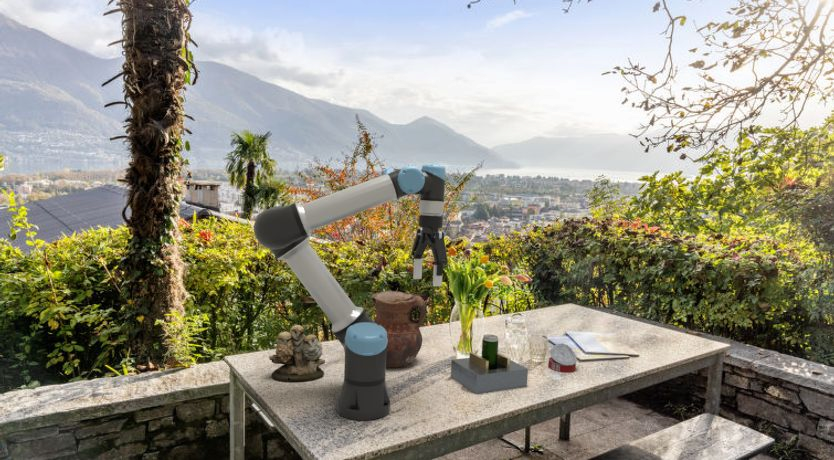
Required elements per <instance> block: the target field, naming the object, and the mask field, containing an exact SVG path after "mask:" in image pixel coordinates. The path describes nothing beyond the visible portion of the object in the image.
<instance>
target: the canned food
mask: <svg viewBox="0 0 834 460" xmlns="http://www.w3.org/2000/svg"><path fill="white" fill-rule="evenodd" d="M549 353H550V356H551V357H549V358H548V365H547V367H548V369H549V370H551V371H554V372H558V373H564V374H565V373H567V374H569V373H573V372H576V365H577V361H578V359H577V355H576V353H575V351H574V350H573V349H572V347H570V346H569V345H568V344H564V343H557V344H555V345H554V346H552V348H551V349H550V352H549Z"/></svg>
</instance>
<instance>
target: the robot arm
mask: <svg viewBox="0 0 834 460" xmlns="http://www.w3.org/2000/svg"><path fill="white" fill-rule="evenodd" d="M446 182H447V181H446V168H445V166H443V165H438V164H422V166H421V169H420V168H419V167H417V166H413V165H407V166H404V167H401V168H394V167H393V168H385V169H383V172H382V175H380V176H378V177H375V178H371V179H369V180H367V181H364V182H361V183H358V184H355V185H353V186H349V187H347V188H344V189H342V190H339V191H336V192H334V193H331V194H328V195H325V196H322V197H319V198H317V199H314V200H312V201H309V202H304V203H303V204H301V203H299V202H295V203H292V204H288V205H285V206H280V205H279V206H272V207H270V208H268V209H265V210H263V211H261V213H259V215H258V216H257V217H256V219H255V220H254V223H253V233H254V236H255V239H256V240H257V241H258V242H259V244H260V245H261V246H263V247H264V248H267V249H269V250H270V252H271V253H272V255H273V256H274V257H275V259H276V260H279V261H284V262H285V263H286V264H287V265H288V267H289V268H290V270H291V271H292V272H293V273H294V274H295V275H294V276H296V278H297V279H298V280H299V282H301V284H302V285H303V287H304V288H305V289H306V291H307V292H308V293H309V295H310V296H311V297H312V298H313V300H314V301H315V303H317V306H318V307H319V308H320V309H321V311H322V312H323V313H324V314H325V315H326V317H327V319H328V320H329V321H330V322H331V324H332V325H331V332H332V334H333V335H334V337H336V339H337V340H338V342H339V343H340V344H341V346H342V347H343V350H344V369H343V370H344V372H343V373H344V374H343V375H344V376H343V383H342V386H341V389H340V391H339V395H338V396H337V400H336V412H337V414H339V415H340V416H341V417H344V418H347V419H350V420H356V421H371V419H373V420H378V419H381V418H383V417H385V416H387V415H388V414H389V413H390V412H391V399H390V395H389V392H388V388H387V384H386V374H387V372H386V371H387V367H386V353H387V343H388V338H387V332H386V330H385V328H383V327H382V326H380V325H377V324H376V323H375V322H374V320H373V319H372V318H371V317H370V316H369V315H368V313H367V312H366V310H365V308H363V307H362V306H356V305H355V304H354V303H353V301H352V300H351V298H350V297H349V296H348V294H347V293H346V292H345V290H344V289H343V288H342V286H341V285H340V284H339V283H338V281H337V280H336V278H335V277H334V276H333V274H332V273H331V271H330V270H329V268H327V266H326V264H325V263H324V262H323V260H321V258H320V257H319V255H318V254H317V253H316V251H315V250H314V248H313V247H312V246H311V244H310V241H311V240H310V239H311V235H310V234H311V232H312V231H315V230H318V229H320V228H323V227H325V226H328V225H330V224H333V223H336V222H338V221H342V220H344V219H348V218H349V217H352V216H354V215H357V214H360V213H362V212H365V211H368V210H370V209H373V208H376V207H379V206H381V205H384V204H387V203H388V202H392V201H395V200H397V199H400V198H403V197H407V196H409V195H415V196H417V195H419V205H418V207H419V209H418V212H419V215H418V225H417V226H418V227H420V228H416V235H415V239H414V242H413V246H412V249H411V252H410V256H412V257H413V274H412V275H413V276H412V277H413V278H412V279H413V280H422V276H423V260H424V257H423V255H424V253H425V251H426V250H427V247H430V250H431V252H432V257H433V259H434V263H433V273H432V276H433V277H432V286H433V287H442V285H443V273H444V266H445V265H446V264H448V262H449V259H448V253H447V249H446V244H445V243H446V242H445V232H444V231H439V230H440V229H442V228H443V221H444V217H443V216H442V215H443V214H444V208H445V204H444V202H445V191H446ZM377 418H378V419H377Z"/></svg>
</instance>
